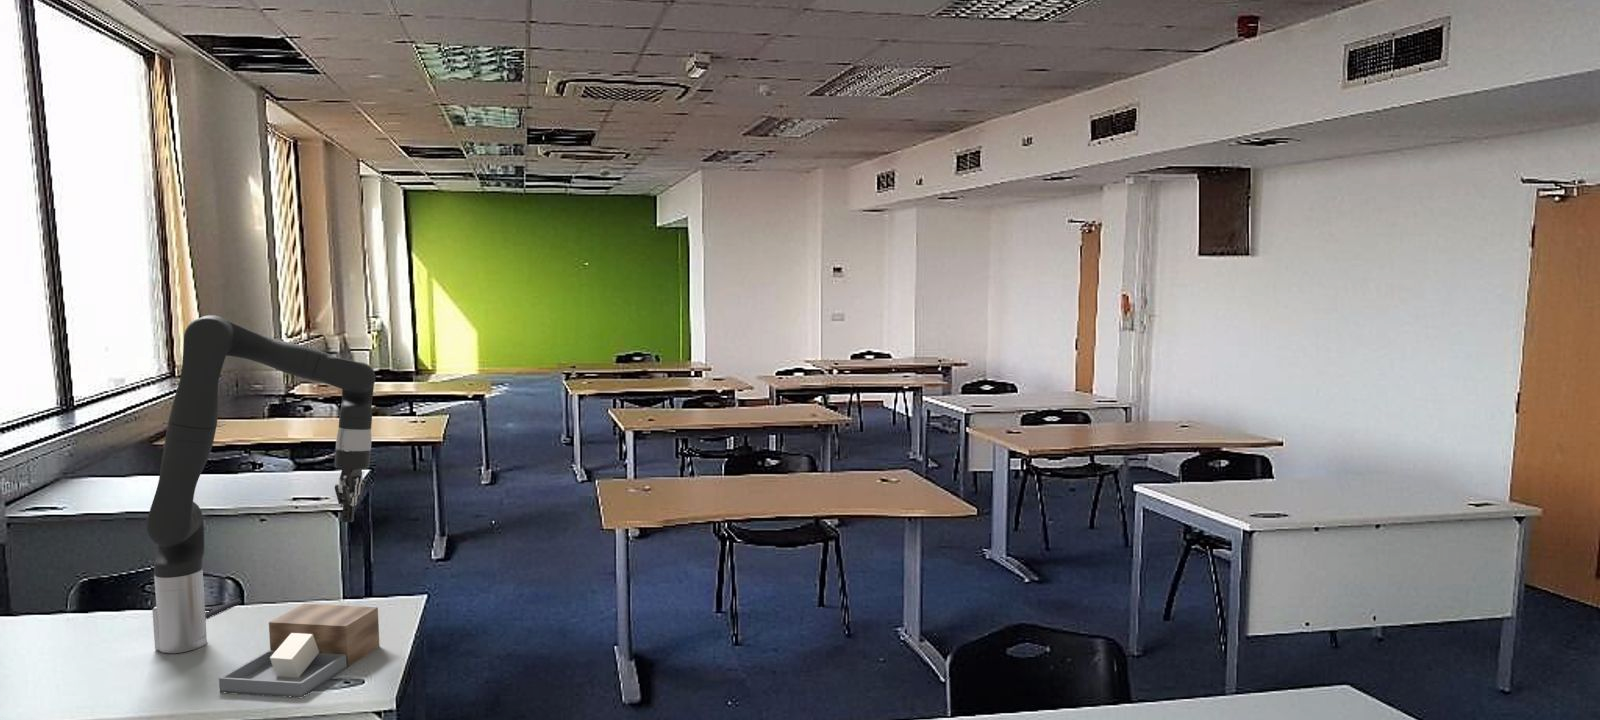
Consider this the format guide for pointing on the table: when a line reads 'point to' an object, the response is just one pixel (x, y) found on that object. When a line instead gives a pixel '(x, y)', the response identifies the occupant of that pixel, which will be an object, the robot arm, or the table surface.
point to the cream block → (294, 655)
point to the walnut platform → (331, 629)
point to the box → (263, 679)
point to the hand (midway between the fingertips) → (347, 521)
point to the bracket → (220, 608)
